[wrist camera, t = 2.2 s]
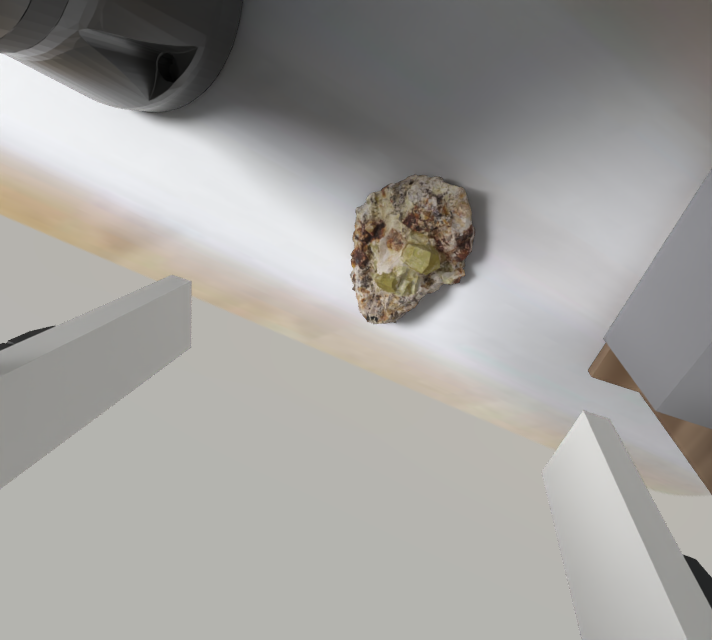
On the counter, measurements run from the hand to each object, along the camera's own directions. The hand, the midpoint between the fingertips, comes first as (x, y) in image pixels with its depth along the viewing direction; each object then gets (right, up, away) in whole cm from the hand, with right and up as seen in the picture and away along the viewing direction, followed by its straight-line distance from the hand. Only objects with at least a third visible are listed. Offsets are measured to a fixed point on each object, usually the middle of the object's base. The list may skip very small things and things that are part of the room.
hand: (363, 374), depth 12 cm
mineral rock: (+3, +7, +13) cm, 15 cm away
